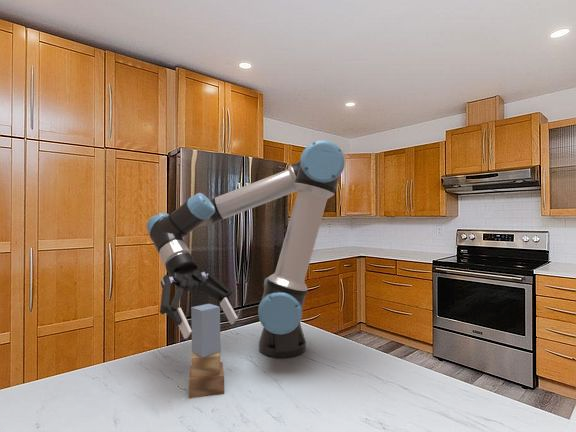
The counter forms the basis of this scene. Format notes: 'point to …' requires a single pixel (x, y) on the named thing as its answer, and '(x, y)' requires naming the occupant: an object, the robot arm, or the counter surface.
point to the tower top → (205, 365)
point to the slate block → (205, 330)
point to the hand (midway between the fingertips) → (212, 327)
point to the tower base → (206, 384)
